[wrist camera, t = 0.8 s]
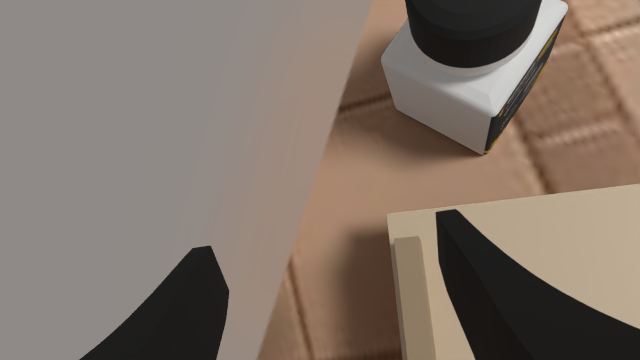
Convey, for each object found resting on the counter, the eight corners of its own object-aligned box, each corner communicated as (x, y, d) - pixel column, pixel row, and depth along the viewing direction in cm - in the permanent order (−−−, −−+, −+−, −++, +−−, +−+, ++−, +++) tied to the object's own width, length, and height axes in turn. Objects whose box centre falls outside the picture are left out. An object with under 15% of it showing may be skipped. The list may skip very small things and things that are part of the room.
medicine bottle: (485, 158, 28) (505, 69, 17) (393, 109, 31) (359, 4, 20) (544, 69, 28) (603, -76, 17) (448, 28, 31) (446, -120, 20)
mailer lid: (728, 419, 18) (770, 438, 16) (409, 416, 22) (404, 432, 19) (659, 183, 21) (686, 169, 19) (387, 215, 25) (380, 206, 22)
